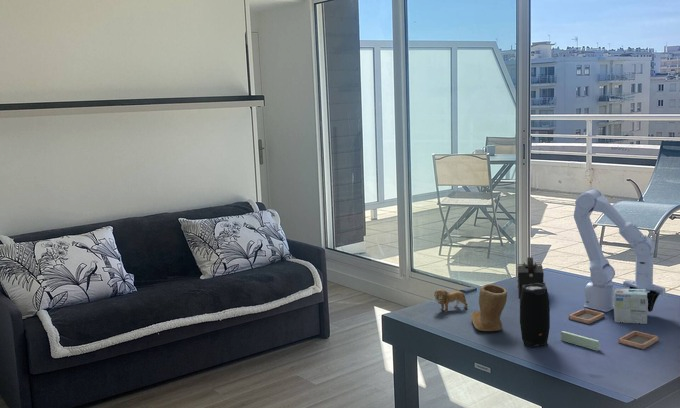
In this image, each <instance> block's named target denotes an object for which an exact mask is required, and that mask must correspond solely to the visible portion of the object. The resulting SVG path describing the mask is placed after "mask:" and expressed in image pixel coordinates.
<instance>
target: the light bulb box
mask: <svg viewBox="0 0 680 408" xmlns="http://www.w3.org/2000/svg"><path fill="white" fill-rule="evenodd" d="M647 293H648V292H647V291H646V289H629V288H618V287H617V288H615V287H613V305H614V309H613V318H614V323H620V322H621V323H622V322H623V323H622V324H639V323H640V324H641V325H642V324H644V325H647V324H648V299H647ZM640 324H639V325H640Z"/></svg>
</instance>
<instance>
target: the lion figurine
mask: <svg viewBox="0 0 680 408" xmlns="http://www.w3.org/2000/svg"><path fill="white" fill-rule="evenodd" d="M433 295H434V300H435V301H436V302H437V303H438V304H440V305H441V307H440V311H444V312H445V313H447V312H448V311H449V303H450V304H451V303H454V302H455V301H456V304H455V305H454V307H453V308H458V307H459V305H460V304H463V305H464V306H463V309H467V308H468V303H467V300H466V296H465V294H464V292H462V291H460V290H459V291H457V290H456V291H453V292H448V291H446V290H443V289H441V288H438V289H436V290H435V291H434V294H433ZM444 308H445V309H444Z"/></svg>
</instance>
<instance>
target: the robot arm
mask: <svg viewBox="0 0 680 408" xmlns="http://www.w3.org/2000/svg"><path fill="white" fill-rule="evenodd" d="M574 202H575V206H574V212H573V219H574V222H575V224H576V227H577V230H578V234H579V235H580V238H581V241H582V244H583V246H584V249H585V251H586V254H587V256H588V260H589V272H590V277H589V279H590V281H589V282H588V283H587V284H586V285H585V288H584V304H583V307H585V308H586V309H588V308H589V309H591V310H592V309H593V310H595V311H599V312H601V311H602V312H603V313H604V312H605V313H607V312H610V311H612V310H614V283H613V279H614V277H615V276H616V270H615V268H614V267H613V266H612V265H611V264H610V261H609V260H608V259H607V258H606V257H605V255H604V252H603V250H602V247H601V244H600V242H599V239H598V237H597V234H596V231H595V228H594V225H593V223H592V219H591V218H590V217H591V214H593V212H597V213H602V214H604V216H606V217H607V218H608V220H609V221H611V222H612V223H613V224H614V225H615V226H616V227H618V233H619V235H620V236H621V237H622V238H623V239H624V240H625V241H626V242H627V243H628V244H629V245H630V246H631V248H633V252H634V253H633V254H635V269H634V270H635V273H634V275H635V276H634V277H635V278H634V279H635V280H634V281H633V280H632V281H631V280H623V281H622V282H623V285H622V286H623V288H628V289H646V293H647V312H652V311H653V310H654V307H655V306H654V305H655V303H656V302H657V300H658V298H659V296H660V295H665V294H666V287H663V286H659V285H656V284H654V253H653V252H655V250H656V244H655V242H654V240H653V239H652V238H650V237H648V236H647V235H646V234H645V235H644V233H642V231H641V230H640V229H639V227H638V225H637V224H634V223H633V222H629V221H626V220H625V218H624V217H623V216H622V215H621V214H620V213H619V211H618V210H617V209H616V208H615V207H614V206H613V205H612V204H611V202H610V201H609V200H608V199H607V197H606V196H605V195H604V194H602V192H601V191H599V190H598V189H596V188H592V189H588V191H585V192H582V193H580V194H579V196H577V198H576V199H575V201H574Z"/></svg>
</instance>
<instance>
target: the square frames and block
mask: <svg viewBox="0 0 680 408" xmlns="http://www.w3.org/2000/svg"><path fill="white" fill-rule="evenodd" d="M604 318H605V313H604V312H601V311H598V310H594V309H593V310H592V309H588V308H583V309H580V310H578V311H575V312H573V313H571V314H569V315H568V320H570V321H573V322H578V323H580V324H584V325H585V324H586V325H591V324H593V323H596V322H597V321H599V320H601V319H604ZM560 340H561V342H566V343H570V344H573V345H577V346H580V347H583V348H587V349H590V350H594V351H599V350H600V340H598V339H594V338H590V337H587V336H583V335H579V334H576V333H572V332H568V331H565V330H562V331H560ZM657 342H659V336H658V335H653V334H649V333H645V332H642V331H638V330H633V331H631V332H628V333H627V334H625V335H623V336H622V337H619V338H618V344H620V345H623V346H628V347H631V348H636V349H639V350H644V349H646V348H648V347H650V346H651V345H653V344H655V343H657Z"/></svg>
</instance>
